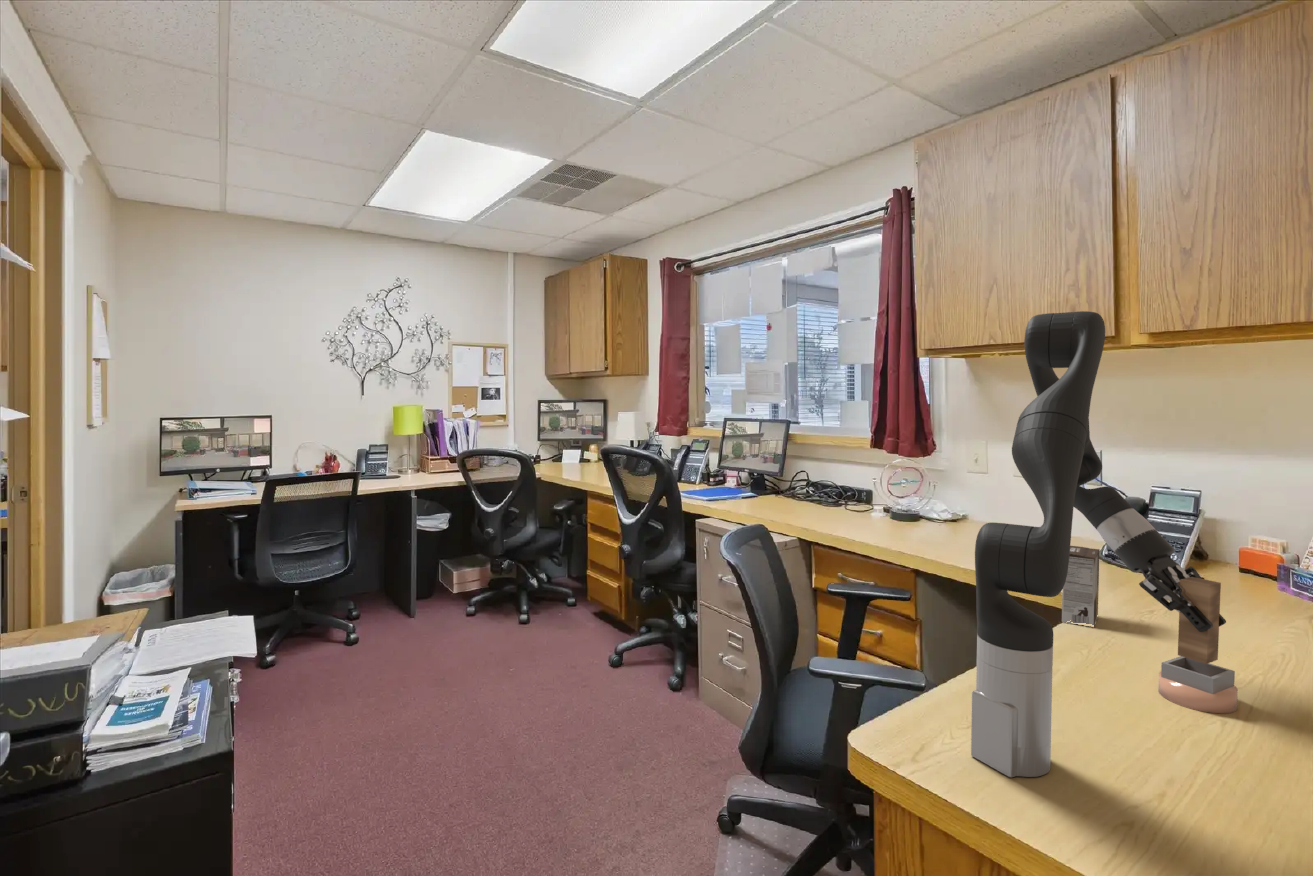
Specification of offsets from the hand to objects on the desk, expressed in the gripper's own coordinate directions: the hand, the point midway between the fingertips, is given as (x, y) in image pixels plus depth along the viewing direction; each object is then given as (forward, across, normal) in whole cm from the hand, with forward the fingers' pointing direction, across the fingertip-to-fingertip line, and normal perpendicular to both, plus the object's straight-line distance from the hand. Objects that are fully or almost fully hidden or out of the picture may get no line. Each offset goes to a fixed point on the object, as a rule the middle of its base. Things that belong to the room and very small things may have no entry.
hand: (1213, 627), depth 103 cm
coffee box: (-15, +22, +33) cm, 42 cm away
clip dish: (+8, 0, +10) cm, 13 cm away
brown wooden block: (+3, 0, +6) cm, 6 cm away
